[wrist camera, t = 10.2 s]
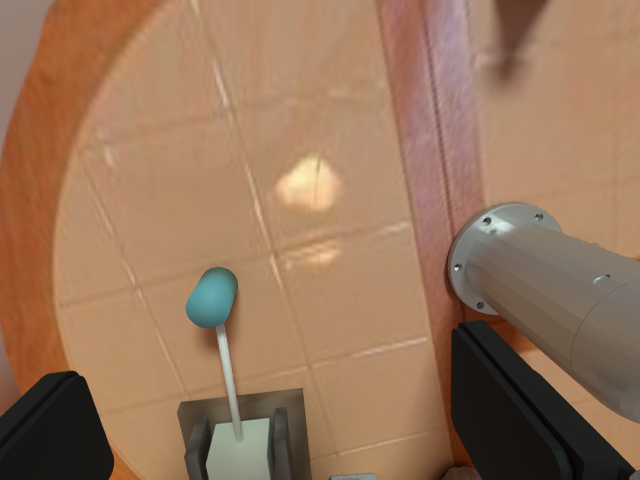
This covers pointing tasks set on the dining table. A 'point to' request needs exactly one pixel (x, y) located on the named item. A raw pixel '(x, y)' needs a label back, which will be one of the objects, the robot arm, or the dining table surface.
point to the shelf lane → (277, 406)
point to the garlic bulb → (461, 474)
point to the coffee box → (355, 477)
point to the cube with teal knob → (230, 390)
